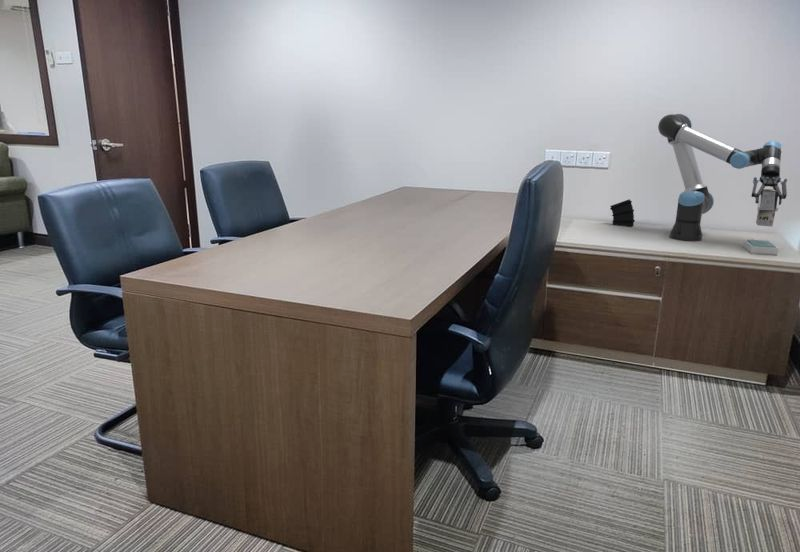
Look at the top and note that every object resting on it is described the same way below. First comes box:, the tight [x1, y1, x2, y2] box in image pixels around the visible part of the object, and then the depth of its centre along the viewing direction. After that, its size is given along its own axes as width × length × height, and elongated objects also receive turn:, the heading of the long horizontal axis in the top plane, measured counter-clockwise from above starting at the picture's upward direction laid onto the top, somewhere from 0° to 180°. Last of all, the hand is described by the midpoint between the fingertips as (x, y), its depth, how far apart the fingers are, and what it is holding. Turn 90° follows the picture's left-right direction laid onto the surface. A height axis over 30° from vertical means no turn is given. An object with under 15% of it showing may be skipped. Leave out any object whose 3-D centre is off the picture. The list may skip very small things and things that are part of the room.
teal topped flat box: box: [742, 239, 779, 256], centre depth 280 cm, size 11×14×4 cm
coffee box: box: [755, 188, 779, 227], centre depth 275 cm, size 9×6×16 cm
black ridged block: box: [610, 198, 635, 228], centre depth 336 cm, size 4×13×15 cm, turn 56°
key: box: [747, 239, 777, 248], centre depth 280 cm, size 9×12×2 cm
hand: (767, 208), depth 272 cm, fingers closed on coffee box, 6 cm apart
